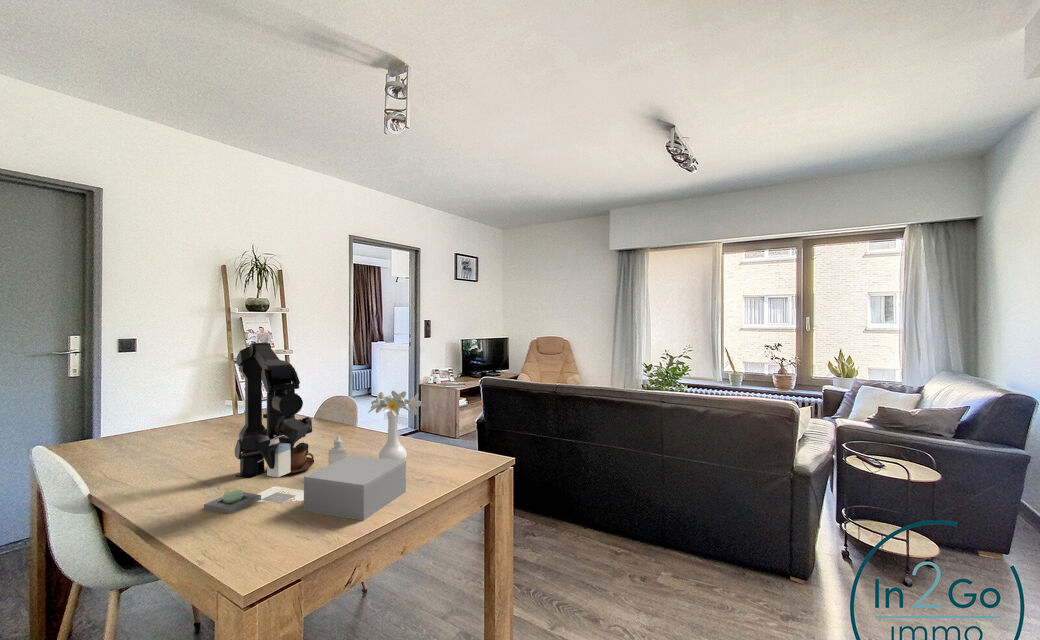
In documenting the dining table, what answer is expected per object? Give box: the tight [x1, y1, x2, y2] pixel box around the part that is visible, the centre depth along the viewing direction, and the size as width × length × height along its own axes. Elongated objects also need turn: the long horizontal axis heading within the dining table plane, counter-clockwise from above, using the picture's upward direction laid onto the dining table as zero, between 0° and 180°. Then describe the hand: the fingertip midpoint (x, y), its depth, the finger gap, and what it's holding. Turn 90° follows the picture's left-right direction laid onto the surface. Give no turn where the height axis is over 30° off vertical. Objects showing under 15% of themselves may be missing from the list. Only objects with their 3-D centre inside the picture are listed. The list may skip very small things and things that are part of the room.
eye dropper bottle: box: [327, 435, 349, 466], centre depth 137 cm, size 4×6×12 cm
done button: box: [222, 489, 244, 504], centre depth 113 cm, size 4×4×2 cm
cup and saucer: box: [286, 446, 315, 475], centre depth 139 cm, size 12×12×6 cm
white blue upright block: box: [266, 441, 291, 478], centre depth 117 cm, size 4×4×8 cm
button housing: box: [203, 491, 261, 515], centre depth 113 cm, size 9×9×2 cm
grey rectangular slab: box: [303, 454, 407, 521], centre depth 115 cm, size 18×18×9 cm
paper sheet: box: [256, 485, 304, 504], centre depth 117 cm, size 16×12×1 cm
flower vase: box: [367, 390, 423, 461], centre depth 145 cm, size 13×18×25 cm
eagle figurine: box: [293, 442, 310, 454], centre depth 144 cm, size 8×7×9 cm
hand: (278, 465), depth 117 cm, fingers closed on white blue upright block, 4 cm apart
